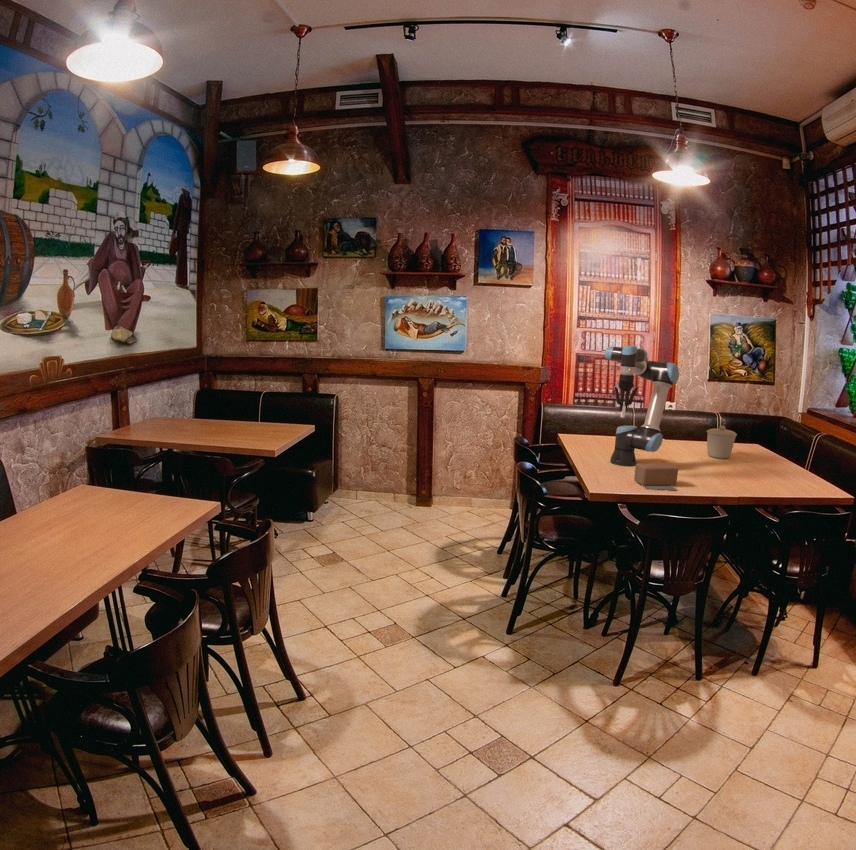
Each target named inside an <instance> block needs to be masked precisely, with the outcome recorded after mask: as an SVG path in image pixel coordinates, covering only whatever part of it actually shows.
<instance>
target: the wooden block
mask: <svg viewBox="0 0 856 850" xmlns="http://www.w3.org/2000/svg"><path fill="white" fill-rule="evenodd" d="M678 473H679V467H678V466H674V465H673V464H670V463H664V462H661V463H658V462H657V463H656V462H655V463H648V462H645V463H644V462H643V463H640V462H639V463H636V465H635V469H634V477H633V480H634V481H635V482H637V484H639V485H641V486H642V485H672V486H676V485H677V481H678Z"/></svg>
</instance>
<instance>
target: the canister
mask: <svg viewBox="0 0 856 850" xmlns="http://www.w3.org/2000/svg"><path fill="white" fill-rule="evenodd" d="M706 433H707V434H706V435H707V436H706V437H707V441H706V445H707V446H706V448H707V449H706V450H707V455H708V456H709V457H711V458H714V459H722V460H723V459H724V460H726V459H728V458H730V457H731V454H732V451H733V448H734V444H735V441H736V437H737V435H738V434H737V433H736V432H735V431H733V430H730V429H726V426H725V425H720V426H719V428H710V429H707V430H706Z"/></svg>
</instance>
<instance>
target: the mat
mask: <svg viewBox="0 0 856 850" xmlns="http://www.w3.org/2000/svg"><path fill="white" fill-rule="evenodd" d="M643 486H644V487H645V488H646V489H657V490H656V491H665V490H667V491H669V492H677V491H678V489H677V488H676V487H674V485H643ZM643 486H642V487H643ZM644 487H643V488H644ZM645 488H644V489H645ZM646 489H645V490H646ZM667 491H666V492H667Z"/></svg>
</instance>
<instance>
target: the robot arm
mask: <svg viewBox="0 0 856 850" xmlns="http://www.w3.org/2000/svg"><path fill="white" fill-rule="evenodd" d="M604 357H605V359H606V360H608V361H615V362H617V363H618V364H620V368H619V369H620V370H619V373H620V374H619V379H618V383H617V384H616V385H615V386H613V387H612V388H613V389H614V394H615V401H616V402H615V403H616V404H618V405H619V409H618V410H619V412H620V418H622V419H625V416H626V412H627V411H628V406H631V405H632V403H633V401H634V397H635V395H636V393H637V391H638V390H639V389H638V387H636V386H635V384H634V382H635V381H634V380H635V376H638V377H639V378H642V379H644V380H648V381H651V384H652V385H653V387H652V393H651V395H650V400H649V403H648V407H647V412H646V415H645V419H644V424H642V425H641V426H640V428H639V429H638V426H637V425H621V426H618V427H617V428H616V432H615V441H614V449H613V452H612V454H611V456H610V458H609V459H610V460H609V461H610V463H611V464H613V465H615V466H616V465H618V466H623V467H633V466H636V464H637V457H636V454H635V453H636V452H635V449H636V450H640V451H644V452H645V451H646V452H651V453H655V452H657V451H658V450H659V449H660V448H661V446H662V444H663V437H664V436H663V434H662V431H661V429H660V425H661V421H662V417H663V413H664V409H665V404H666V401H667V399H668V398H667V397H668V394H669V390H670V389H671V388H672V387H673V385H674V384H676V383H678V381H679V378H680V371H679V370H680V369H679V366H678V365H677V364H676V363H673V362H669V361H668V362H666V361H655V360H647V359H648V352H647V351H646V350H645V349H644V348H638V346H637V345H632V344H631V345H629V344H628V345H627V344H625V345H622V347H620V346H607V347H606V349H605V350H604ZM619 390H620V391H619ZM619 392H620V393H619ZM630 393H631V394H630Z"/></svg>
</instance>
